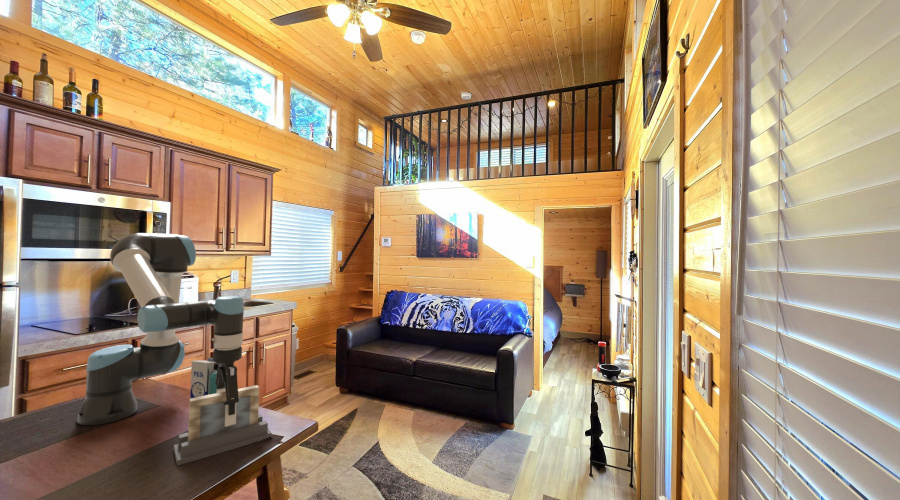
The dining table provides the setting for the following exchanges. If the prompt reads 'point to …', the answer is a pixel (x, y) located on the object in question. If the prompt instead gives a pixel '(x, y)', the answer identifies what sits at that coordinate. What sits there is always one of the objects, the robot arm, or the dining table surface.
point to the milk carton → (201, 377)
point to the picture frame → (221, 412)
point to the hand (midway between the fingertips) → (225, 416)
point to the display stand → (219, 442)
